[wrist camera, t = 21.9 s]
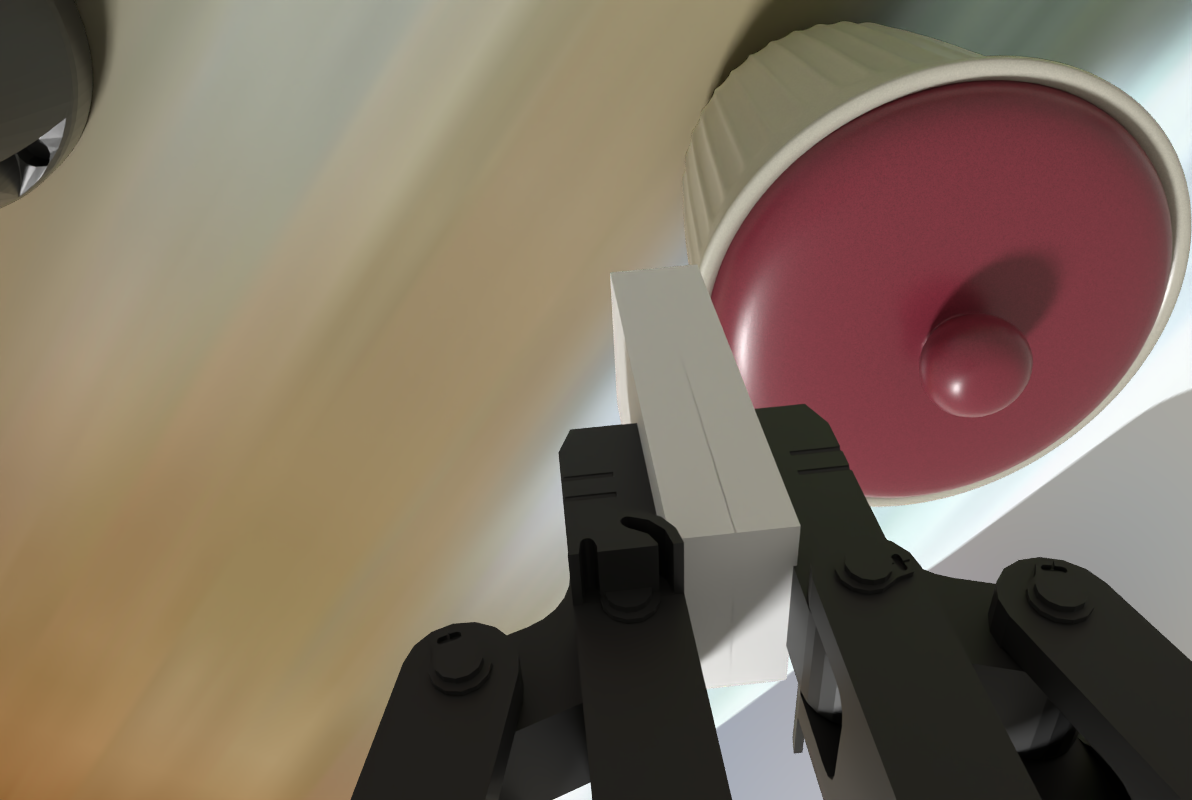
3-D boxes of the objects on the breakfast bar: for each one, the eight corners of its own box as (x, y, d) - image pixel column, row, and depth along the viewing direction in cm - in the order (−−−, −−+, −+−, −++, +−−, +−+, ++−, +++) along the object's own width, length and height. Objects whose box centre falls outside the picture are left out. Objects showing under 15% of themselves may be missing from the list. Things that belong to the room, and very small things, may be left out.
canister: (1042, 179, 49) (1339, 415, 32) (749, 367, 54) (870, 657, 37) (891, -137, 40) (1192, -44, 23) (556, 124, 45) (597, 360, 28)
